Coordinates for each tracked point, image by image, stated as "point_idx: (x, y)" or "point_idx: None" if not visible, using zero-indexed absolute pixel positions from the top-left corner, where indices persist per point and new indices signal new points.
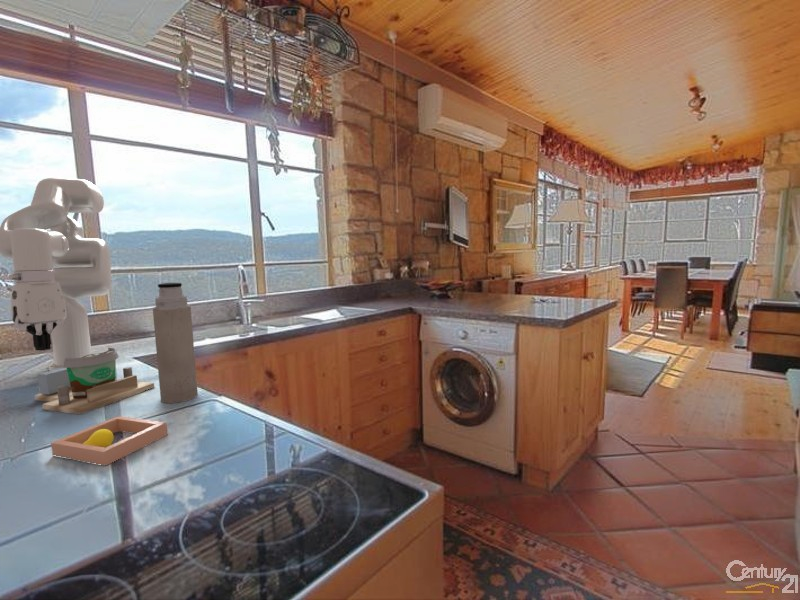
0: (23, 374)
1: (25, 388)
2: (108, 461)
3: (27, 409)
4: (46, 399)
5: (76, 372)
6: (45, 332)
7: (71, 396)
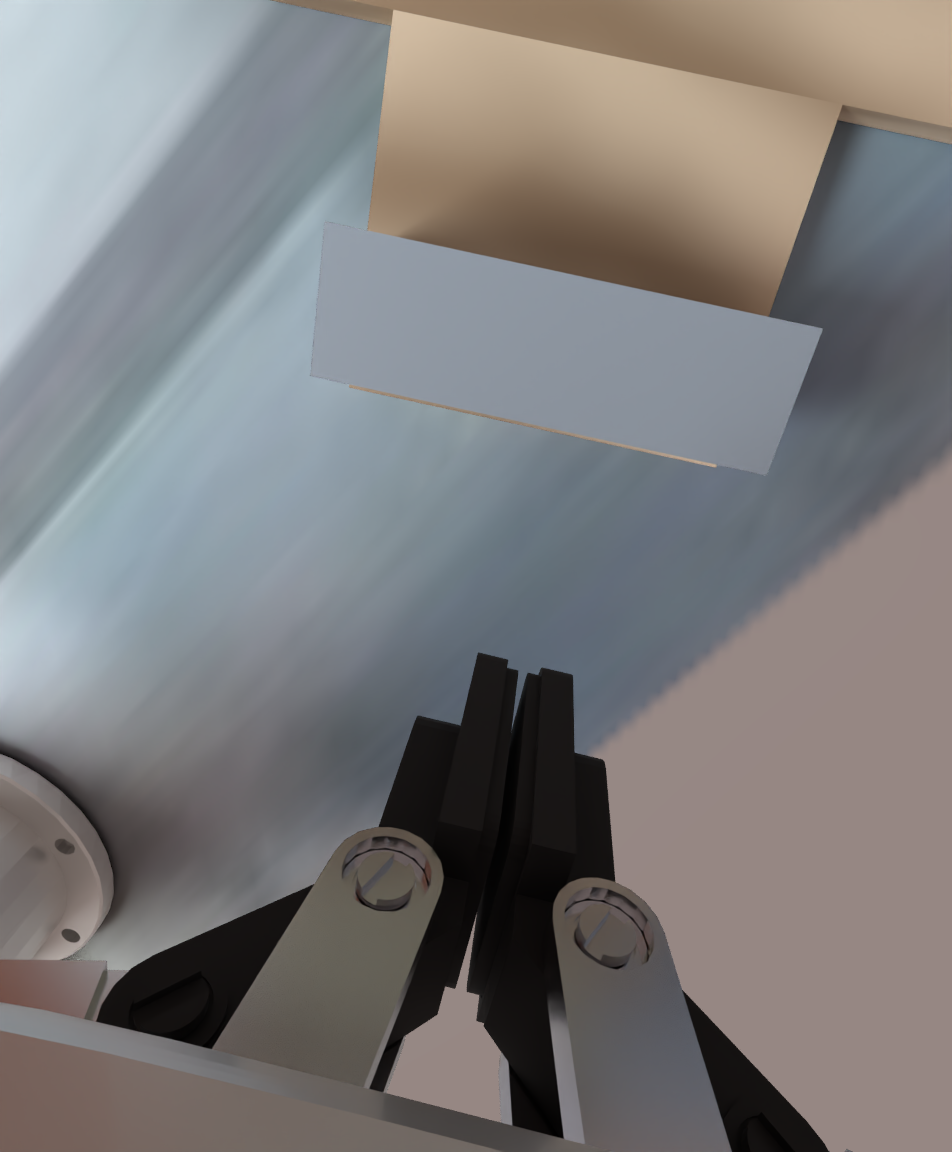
0: None
1: None
2: None
3: (947, 307)
4: None
5: None
6: (448, 906)
7: (793, 33)
